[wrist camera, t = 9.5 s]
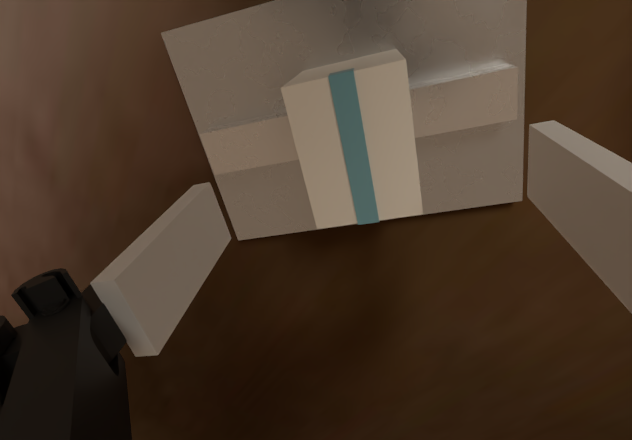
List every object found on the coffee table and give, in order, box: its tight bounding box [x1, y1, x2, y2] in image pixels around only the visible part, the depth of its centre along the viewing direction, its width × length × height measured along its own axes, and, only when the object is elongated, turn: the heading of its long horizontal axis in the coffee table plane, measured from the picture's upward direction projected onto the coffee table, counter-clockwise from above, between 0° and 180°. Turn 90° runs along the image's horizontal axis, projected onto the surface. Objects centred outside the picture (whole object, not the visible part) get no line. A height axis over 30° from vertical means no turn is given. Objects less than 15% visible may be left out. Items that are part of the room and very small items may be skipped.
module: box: [281, 49, 423, 229], centre depth 22 cm, size 8×6×7 cm
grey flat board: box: [161, 0, 527, 241], centre depth 25 cm, size 16×22×3 cm
